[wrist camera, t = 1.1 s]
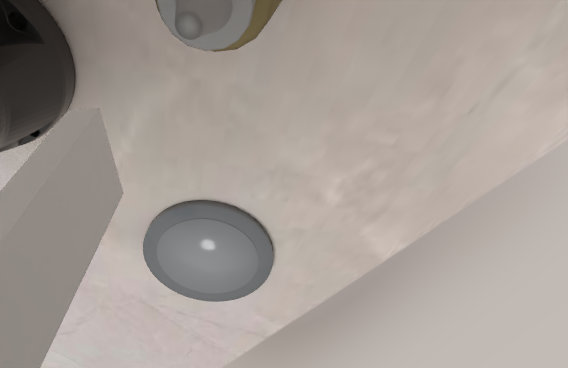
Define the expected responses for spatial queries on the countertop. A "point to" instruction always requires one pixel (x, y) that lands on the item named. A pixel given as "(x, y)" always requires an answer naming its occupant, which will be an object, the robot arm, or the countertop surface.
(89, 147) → the robot arm
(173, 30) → the squeeze bottle
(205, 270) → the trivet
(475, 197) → the countertop surface
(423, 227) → the countertop surface
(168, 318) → the countertop surface
